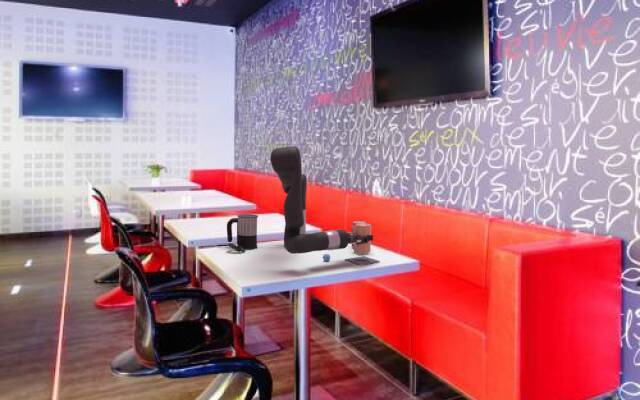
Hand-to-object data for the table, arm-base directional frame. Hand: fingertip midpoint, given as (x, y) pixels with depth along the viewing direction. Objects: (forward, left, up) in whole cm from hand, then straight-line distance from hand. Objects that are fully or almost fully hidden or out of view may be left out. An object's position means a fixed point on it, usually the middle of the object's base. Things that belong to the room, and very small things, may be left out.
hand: (367, 236), depth 202 cm
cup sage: (-12, +7, -10) cm, 17 cm away
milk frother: (-45, -34, -10) cm, 57 cm away
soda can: (-21, +13, -10) cm, 27 cm away
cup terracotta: (0, -2, -6) cm, 6 cm away
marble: (-8, -14, -10) cm, 19 cm away
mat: (0, -2, -10) cm, 10 cm away
